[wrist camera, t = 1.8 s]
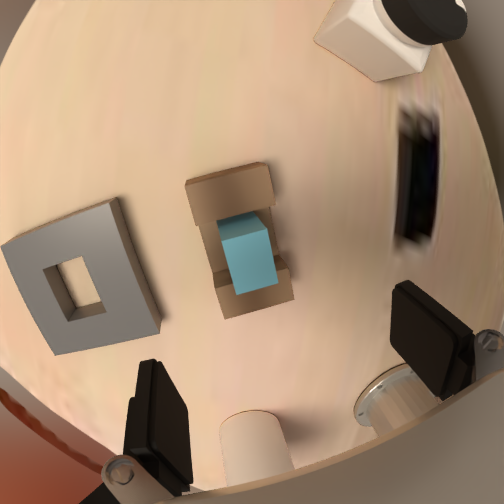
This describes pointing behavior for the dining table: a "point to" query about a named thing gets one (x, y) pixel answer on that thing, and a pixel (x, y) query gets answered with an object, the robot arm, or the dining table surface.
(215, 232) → the brown notched block
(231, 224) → the plug
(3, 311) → the dining table surface
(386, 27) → the medicine bottle
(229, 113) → the dining table surface
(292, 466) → the bottle
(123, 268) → the port block
